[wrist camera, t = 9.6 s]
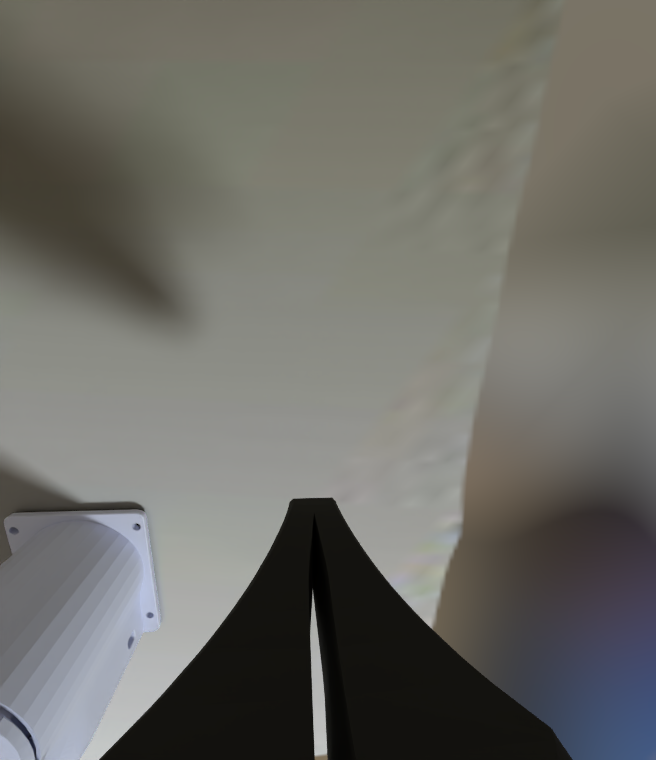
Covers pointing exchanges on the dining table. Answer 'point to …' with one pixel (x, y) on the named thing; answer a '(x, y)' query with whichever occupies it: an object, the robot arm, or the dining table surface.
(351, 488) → the dining table surface
